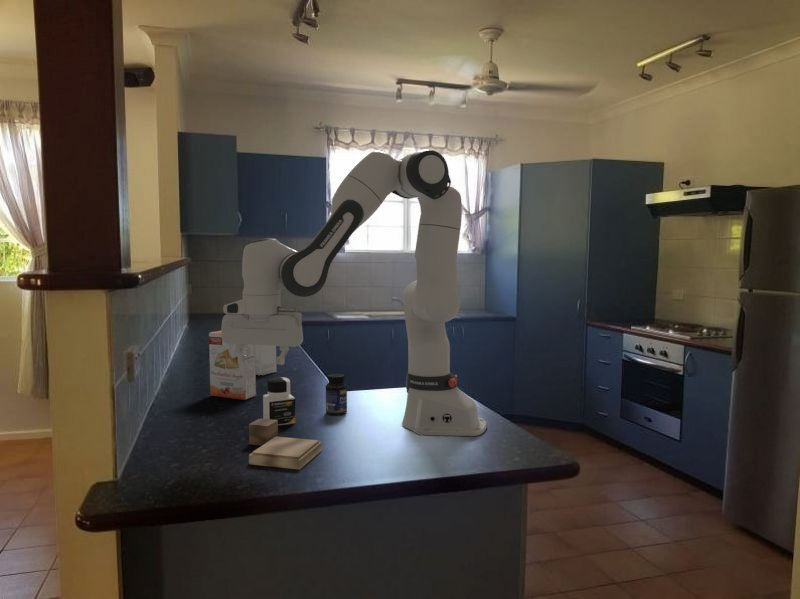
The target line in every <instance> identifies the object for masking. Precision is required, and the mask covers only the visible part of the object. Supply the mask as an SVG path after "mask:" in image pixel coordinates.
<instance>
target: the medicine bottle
mask: <svg viewBox="0 0 800 599" xmlns="http://www.w3.org/2000/svg"><path fill="white" fill-rule="evenodd" d="M262 408H263V409H262V411H263V412H262V414H263V416H262V417H263V418H262V419H272V420H278V426H284V425H292V424H296V397H295V396H293V395H292V394H291V380H290V379H289V378H287V377H282V376H278V377H272V378H270V379H268V380H267V394H263V395H262Z"/></svg>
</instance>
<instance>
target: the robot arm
mask: <svg viewBox="0 0 800 599" xmlns="http://www.w3.org/2000/svg"><path fill="white" fill-rule="evenodd" d="M451 180H452V179H451V177H450V172H449V167H448V164H447V161H446V159H445V157H444V156H443V155H442V154H441V153H440V152H438V151H436V150H433V149H429V148H428V149H427V148H426V149H425V148H424V149H419V150H417V151H416V152H414V151H413V152H412V153H409V154H407V155H405V156H404V157H402V158H400V159H398V160H397V159H396V158H393V157H392V156H391V155H390V154H389V153H387V152H385V151H381V150H373V151H371V152H370V153H368V154H367V155H365V157H364V158H362V159H361V160H360V161H359V162H358V163H357V164H356V165H355V166H354V167H353V168H352V169H351V170H350V172H348V174H347V175H346V176H345V178H343V180H342V181H341V183H340V184H339V186H338V188H337V189H336V191H335V192H334V194H333V196H332V199H331V213H330V215H329V218H328V220H327V221H326V222H325V223H324V225H323V227H322V228H321V229H320V230H319V232H318V233H317V234H316V236H315V237H314V238H313V240H311V242H310V243H309V245H307V246H306V247H305V248H303V249H302V250H300V251H298V250H295V249H293V248H291V247H289V246H287V245H285V244H284V243H281V242H280V241H279V240H277V238H274V237H268V238H261V239H255V240H252V241H250V242H248V243H247V244H246V245H245V246H244V248H243V252H242V253H243V254H242V263H241V265H242V266H241V268H242V269H241V272H242V273H241V276H242V279H243V289H242V299H239V300H236V301H233V302H230V303H225V304H224V305H223V308H222V309H223V313H224V314H225V315H223V317H222V320H221V328H220V329H221V330H220V331H221V337H222V340H223V342H224V343H229V344H236V350H237V351H238V353H239V355H240V362H242V363H247V362H249V355H248V354H246V352H245V350H244V347H245V344H248V345H267V346H276V347H279V351H280V354H279V356H276V366H277V365H279V366H283V365H285V360H286V356H287V354H288V353H289V350H290V348H297V347H299V346H301V345H302V344H303V342H304V333H303V332H304V331H303V325H302V323H303V314H302V312H301V310H299V309H298V308H296V307H294V306H292V307H287V306H281V301H282V300H281V296H282V295H281V292H282V290H287V291H288V292H289V293H290V294H292V295H294V296H296V297H301V298H302V297H304V298H306V297H311V296H314V295H316V294H317V293H319V292H320V291H321V290H322V288H323V287H324V285H325V284H326V282H327V278H328V274H329V270H330V267H331V264H332V262H333V260H334V259H335V257H336V256H337V255H338V254H339V252H340V251H341V249H342V248H343V247H344V245H345V244H347V241H348V240H349V239H350V237H351V236H352V235H353V233H354V232H356V230H358V229H359V228H360V227H361V226H362V225H363V224H365V223H366V221H368V220H369V219H370V218H371V217H372V216H373V215H374V214H375V212H376V211H378V209H379V208H380V206H381V205H382V204H383V203H384V201H386V198H387V197H388V196H389V195H390V194H391V193H392V194H394V195H396V196H397V197H399V198H403V199H407V200H408V199H411V200H412V199H417V201H418V203H419V206H420V215H419V222H418V230H417V235H416V244H415V250H414V256H415V261H416V262H415V263H416V265H415V266H416V280H413V281H412V282H410V283H409V284H407V286H405V288H404V289H403V291H402V296H401V300H402V305H403V313H404V320H405V321H404V322H405V327H406V328H405V329H406V335H407V342H408V343H407V344H408V346H407V347H408V353H407V354H408V356H407V357H408V358H407V359H408V362H407V363H408V365H407V367H408V368H407V369H408V370H407V372H406V379H405V389H406V393H407V396H406V404H405V409H404V410H405V411H404V416H403V417H402V418H403V419H402V422H401V424H402V426H403V427H405V428H406V429H407V430H411V431H413V432H414V433H416V434H417V435H420V436H421V435H422V436H425V435H426V436H456V437H457V436H458V437H459V436H460V437H461V436H463V437H464V436H465V437H476V436H480V435H482V434H483V433H484V432H485V431H486V429H487V421H486V420H485V419H484V418H482V417H480V416H479V412H478V408H477V404H476V402H475V400H474V399H472V398H471V397H469V396H468V394H466V393H465V392H464V391H462V390H461V389H460V388H459V387H458V374H453V373H451V371H450V366H451V364H450V363H451V361H450V356H451V355H450V353H451V352H450V351H451V345H450V344H451V343H450V341H449V338H448V334H447V330H446V324H445V323H447V322H450V321H452V320H453V319H454V318H455V317H457V315H458V313H459V311H460V309H461V297H460V295H459V294H460V293H459V291H458V290H459V289H458V270H457V268H458V267H457V263H458V262H457V261H458V260H457V259H458V258H457V257H458V249H459V242H460V235H461V228H462V227H461V226H462V216H463V215H462V214H463V210H462V209H463V208H462V206H463V203H462V196H461V192H460V191H458V190H457V189H456V188H455V187H452V186H451V184H452V181H451Z"/></svg>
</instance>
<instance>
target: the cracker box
mask: <svg viewBox="0 0 800 599" xmlns="http://www.w3.org/2000/svg"><path fill="white" fill-rule="evenodd" d="M208 344H209V345H208V349H209V389H210V391H209V392H210V394H209V395H210V397H211V396H212V397H213V396H214V397H220V398H227V399H235V400H241V401H242V400H243V401H247V400H249V399H251V398H254V397H257V383H256V381H257V380H256V379H257V377H256V365H255V345H248V344H245V347H244V350H245V352H246V354H248V355H249V362H247V363H242V362H240V355H239V353H238V351H237V350H236V344H229V343H224V342H223V340H222V337H221V330H216V331H211V332H208Z"/></svg>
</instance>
